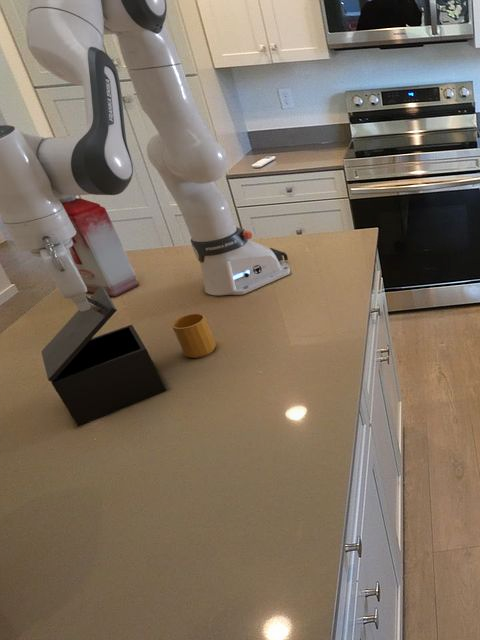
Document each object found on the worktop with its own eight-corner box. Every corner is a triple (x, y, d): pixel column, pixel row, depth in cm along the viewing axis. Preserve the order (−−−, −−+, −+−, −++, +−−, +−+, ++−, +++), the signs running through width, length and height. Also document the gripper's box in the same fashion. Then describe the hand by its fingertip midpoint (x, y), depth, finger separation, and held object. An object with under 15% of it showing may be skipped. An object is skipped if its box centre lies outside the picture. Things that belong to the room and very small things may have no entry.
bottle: (144, 283, 160) (95, 176, 144) (111, 299, 152) (55, 188, 136) (111, 278, 166) (60, 174, 150) (78, 293, 158) (20, 186, 142)
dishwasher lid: (104, 288, 111) (80, 273, 107) (117, 310, 101) (90, 294, 98) (45, 353, 109) (18, 340, 105) (52, 382, 99) (23, 369, 96)
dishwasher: (151, 364, 122) (132, 324, 116) (166, 390, 112) (146, 348, 107) (69, 395, 114) (44, 354, 109) (78, 426, 105) (51, 383, 99)
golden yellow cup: (211, 340, 128) (199, 310, 124) (220, 350, 124) (208, 320, 119) (182, 351, 125) (168, 321, 121) (189, 362, 120) (176, 331, 116)
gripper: (71, 239, 90) (111, 315, 98) (57, 213, 104) (93, 281, 112) (25, 252, 87) (70, 329, 95) (17, 223, 101) (56, 292, 109)
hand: (82, 303), depth 104 cm, fingers closed on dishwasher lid, 5 cm apart
